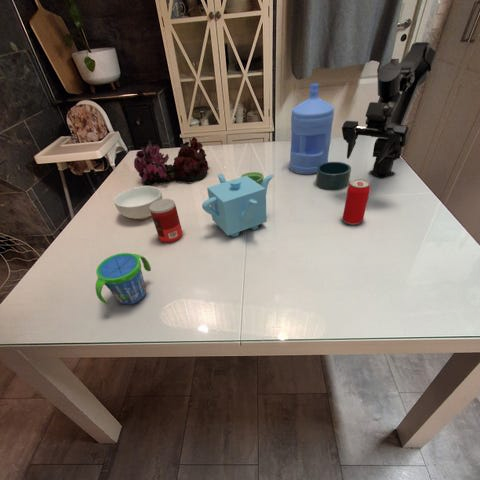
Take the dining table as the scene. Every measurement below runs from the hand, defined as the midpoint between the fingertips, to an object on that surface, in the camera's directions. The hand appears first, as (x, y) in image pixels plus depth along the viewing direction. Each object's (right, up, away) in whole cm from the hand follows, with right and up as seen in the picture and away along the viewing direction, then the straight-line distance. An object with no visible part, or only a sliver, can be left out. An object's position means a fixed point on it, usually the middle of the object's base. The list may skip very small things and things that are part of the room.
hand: (362, 160), depth 90 cm
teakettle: (-36, -17, +9) cm, 41 cm away
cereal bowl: (-73, -9, +21) cm, 76 cm away
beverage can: (-1, -17, +5) cm, 18 cm away
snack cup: (-66, -42, -10) cm, 79 cm away
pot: (-2, +4, +24) cm, 24 cm away
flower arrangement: (-66, +14, +41) cm, 78 cm away
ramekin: (-32, +4, +27) cm, 42 cm away
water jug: (-8, +16, +36) cm, 40 cm away
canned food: (-60, -21, +8) cm, 64 cm away
